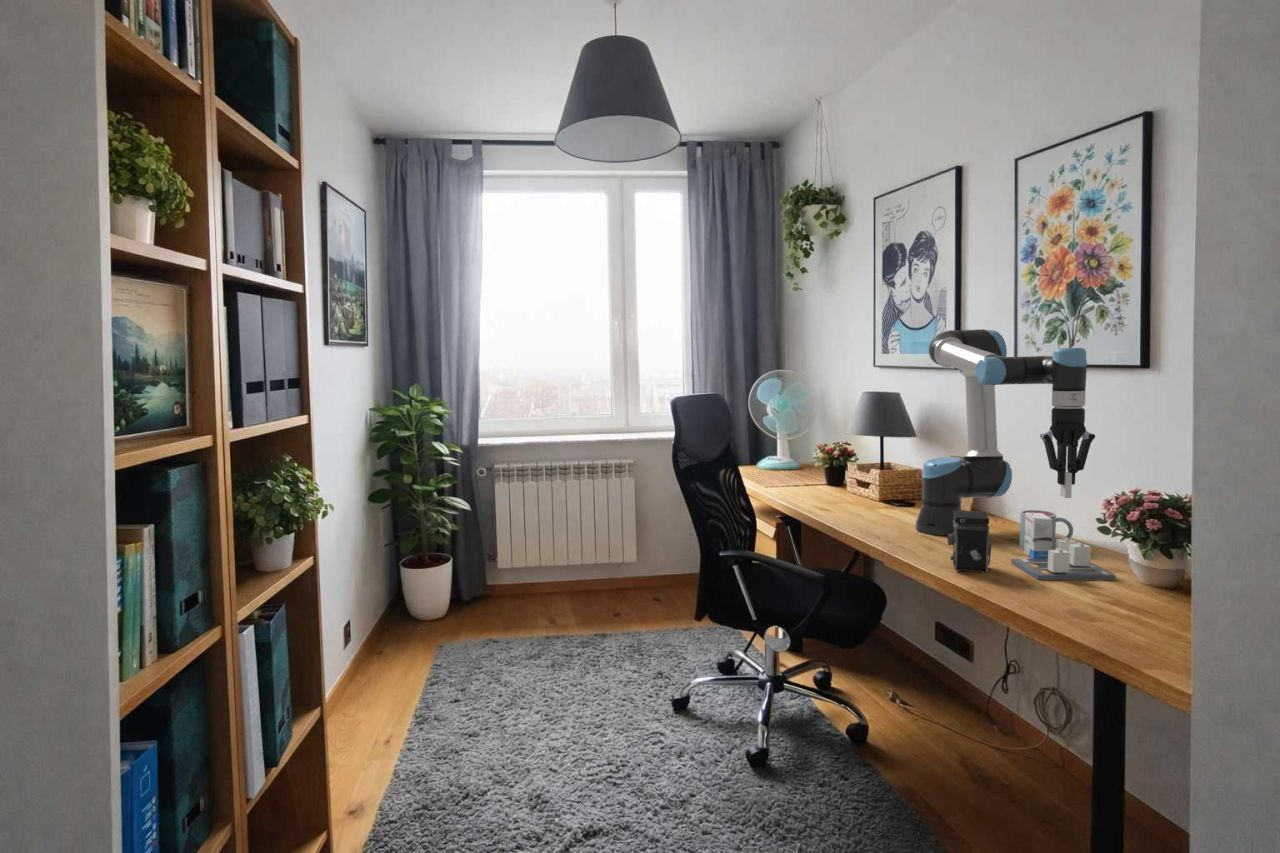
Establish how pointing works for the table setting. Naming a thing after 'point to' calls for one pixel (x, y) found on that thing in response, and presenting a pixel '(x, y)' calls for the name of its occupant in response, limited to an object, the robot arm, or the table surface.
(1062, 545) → the tab
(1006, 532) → the table surface
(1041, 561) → the grey flat board
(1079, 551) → the tab
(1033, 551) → the ink box
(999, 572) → the table surface
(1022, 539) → the mug
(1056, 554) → the tab
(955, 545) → the camera
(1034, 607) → the table surface
